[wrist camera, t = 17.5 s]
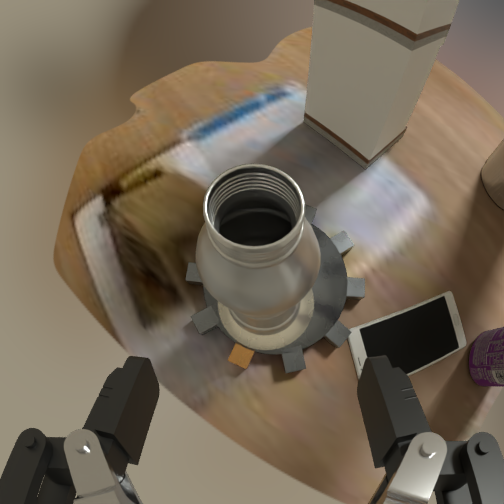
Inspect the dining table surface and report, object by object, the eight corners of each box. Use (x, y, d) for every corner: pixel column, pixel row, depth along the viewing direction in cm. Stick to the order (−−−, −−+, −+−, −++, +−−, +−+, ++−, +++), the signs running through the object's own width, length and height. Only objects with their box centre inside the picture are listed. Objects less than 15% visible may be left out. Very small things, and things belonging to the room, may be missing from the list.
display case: (403, 135, 38) (477, -68, 5) (365, 169, 36) (446, -92, 3) (346, 95, 42) (378, -102, 9) (303, 122, 40) (317, -119, 7)
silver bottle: (283, 347, 28) (315, 326, 9) (219, 321, 29) (132, 250, 10) (307, 287, 29) (364, 166, 11) (245, 263, 31) (211, 121, 12)
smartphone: (468, 345, 27) (363, 395, 27) (465, 345, 28) (361, 394, 27) (451, 288, 30) (345, 329, 29) (449, 290, 30) (343, 330, 30)
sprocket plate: (236, 185, 36) (232, 164, 32) (378, 241, 33) (392, 225, 28) (162, 325, 31) (146, 320, 26) (320, 398, 27) (328, 404, 23)
